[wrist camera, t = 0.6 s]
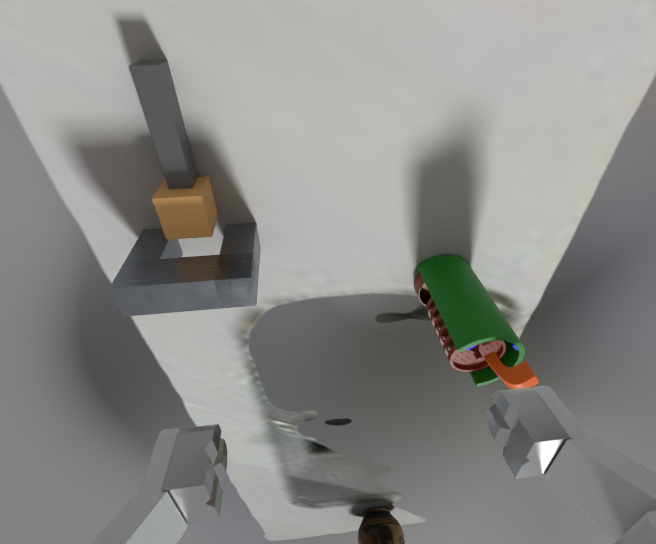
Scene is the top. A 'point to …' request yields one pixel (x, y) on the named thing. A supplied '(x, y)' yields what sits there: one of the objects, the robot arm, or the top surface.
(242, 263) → the grey u-shaped block
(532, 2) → the top surface
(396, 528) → the ceramic jug
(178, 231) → the plug
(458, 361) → the motor
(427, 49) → the top surface
